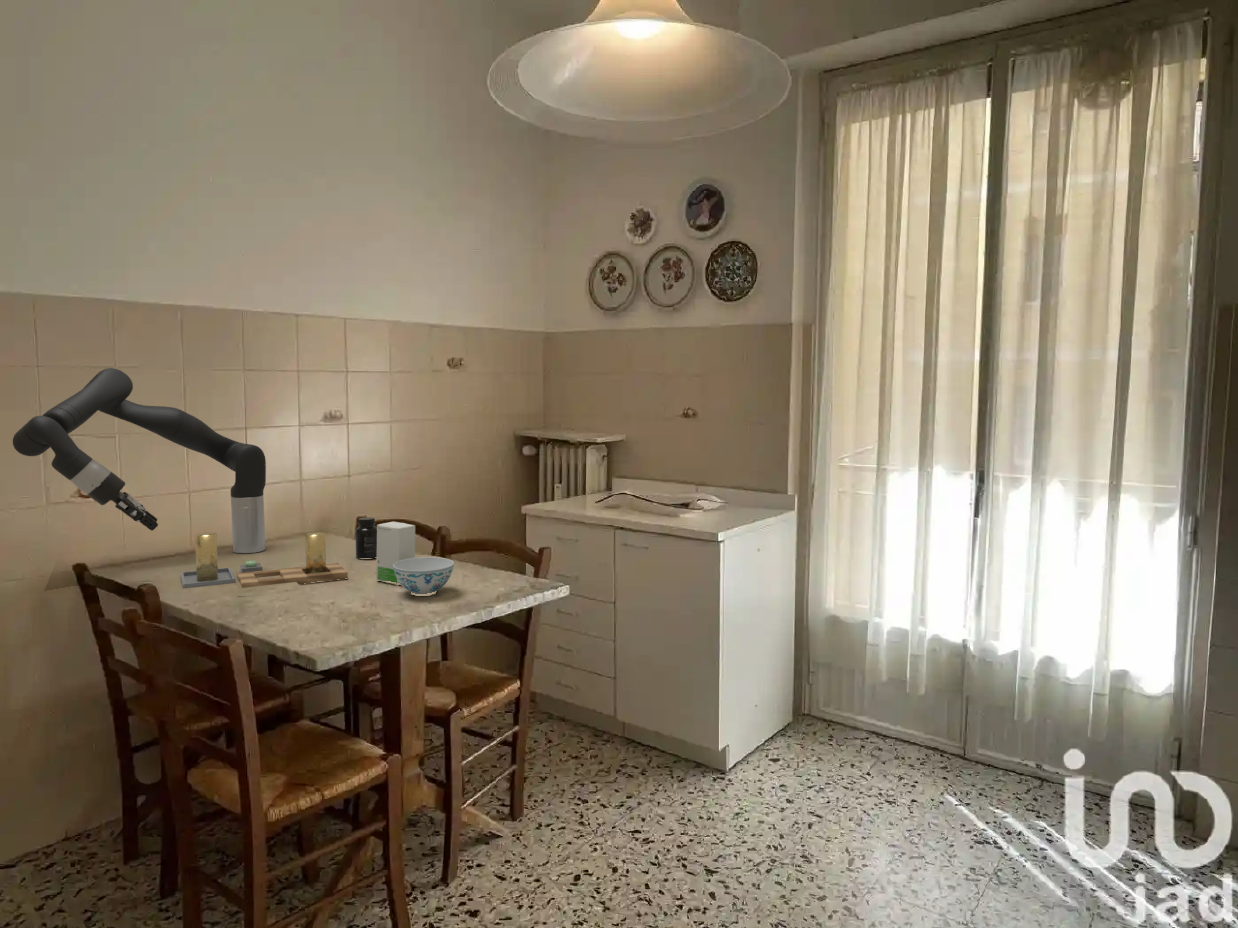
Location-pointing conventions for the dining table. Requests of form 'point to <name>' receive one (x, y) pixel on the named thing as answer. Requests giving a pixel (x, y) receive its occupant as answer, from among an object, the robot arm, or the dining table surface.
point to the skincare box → (393, 548)
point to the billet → (206, 557)
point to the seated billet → (315, 553)
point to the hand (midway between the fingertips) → (155, 525)
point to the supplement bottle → (366, 538)
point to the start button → (251, 563)
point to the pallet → (291, 576)
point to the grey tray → (191, 581)
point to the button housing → (250, 568)
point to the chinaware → (423, 573)
